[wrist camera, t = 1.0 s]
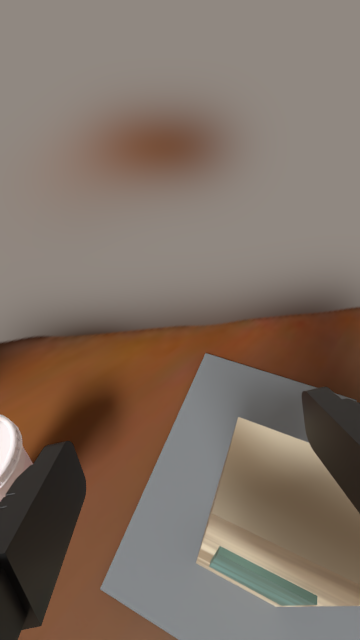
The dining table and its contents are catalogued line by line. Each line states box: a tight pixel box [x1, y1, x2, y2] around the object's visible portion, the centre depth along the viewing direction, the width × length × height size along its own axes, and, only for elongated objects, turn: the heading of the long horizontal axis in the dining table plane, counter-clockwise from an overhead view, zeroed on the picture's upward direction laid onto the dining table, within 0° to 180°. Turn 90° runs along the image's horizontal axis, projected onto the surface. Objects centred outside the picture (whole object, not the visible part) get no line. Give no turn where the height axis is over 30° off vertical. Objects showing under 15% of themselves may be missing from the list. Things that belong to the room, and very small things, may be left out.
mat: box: [100, 353, 360, 640], centre depth 26 cm, size 24×18×1 cm
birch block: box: [196, 417, 360, 607], centre depth 16 cm, size 4×6×16 cm
